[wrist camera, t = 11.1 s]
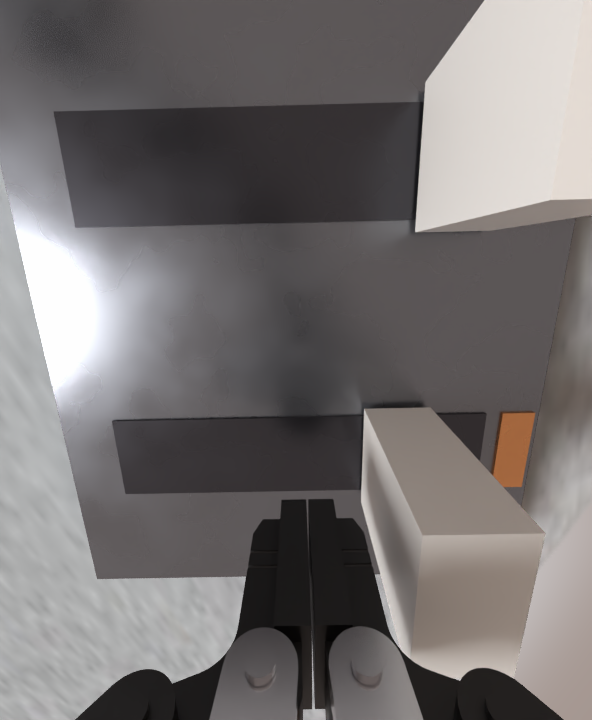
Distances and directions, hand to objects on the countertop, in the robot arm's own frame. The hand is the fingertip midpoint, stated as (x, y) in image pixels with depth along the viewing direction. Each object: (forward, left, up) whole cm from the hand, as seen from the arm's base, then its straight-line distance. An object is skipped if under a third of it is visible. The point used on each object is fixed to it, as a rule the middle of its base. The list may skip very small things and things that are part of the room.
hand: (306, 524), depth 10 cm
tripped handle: (+3, 0, -3) cm, 5 cm away
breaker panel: (0, +5, -7) cm, 8 cm away
